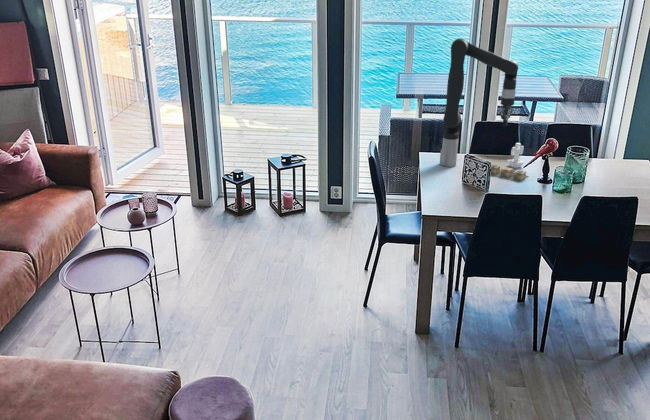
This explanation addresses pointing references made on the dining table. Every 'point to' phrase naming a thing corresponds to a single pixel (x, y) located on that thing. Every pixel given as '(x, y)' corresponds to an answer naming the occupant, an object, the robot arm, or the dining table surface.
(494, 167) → the marked block 1
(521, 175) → the marked block 2
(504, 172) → the plain block
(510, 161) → the figurine
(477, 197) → the dining table surface
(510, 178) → the mat
